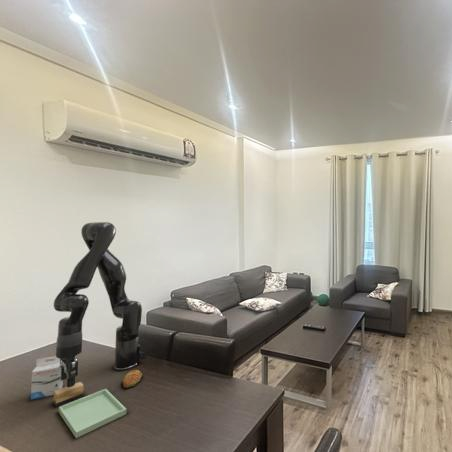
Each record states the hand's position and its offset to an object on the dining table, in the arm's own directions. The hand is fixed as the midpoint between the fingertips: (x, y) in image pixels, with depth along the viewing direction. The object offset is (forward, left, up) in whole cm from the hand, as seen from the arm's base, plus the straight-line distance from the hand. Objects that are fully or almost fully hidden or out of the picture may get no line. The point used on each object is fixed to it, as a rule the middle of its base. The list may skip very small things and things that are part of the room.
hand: (67, 382), depth 109 cm
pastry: (-20, +6, -8) cm, 23 cm away
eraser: (0, 0, -7) cm, 7 cm away
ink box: (+4, -12, -8) cm, 14 cm away
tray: (-3, +17, -7) cm, 19 cm away
